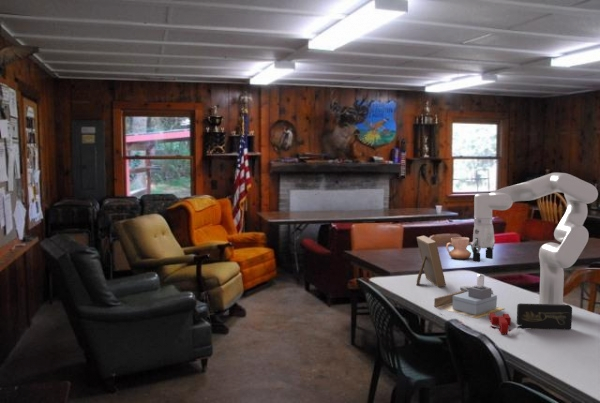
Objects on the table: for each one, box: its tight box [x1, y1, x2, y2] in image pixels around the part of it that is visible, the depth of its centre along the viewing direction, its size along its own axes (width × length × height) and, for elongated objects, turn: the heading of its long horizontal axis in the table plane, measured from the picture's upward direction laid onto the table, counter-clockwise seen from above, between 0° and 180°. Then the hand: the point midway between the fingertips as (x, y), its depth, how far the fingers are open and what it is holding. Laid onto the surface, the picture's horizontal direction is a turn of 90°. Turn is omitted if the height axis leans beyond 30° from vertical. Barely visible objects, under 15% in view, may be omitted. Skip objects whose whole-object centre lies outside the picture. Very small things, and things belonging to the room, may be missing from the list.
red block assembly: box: [488, 312, 512, 335], centre depth 213 cm, size 16×7×5 cm, turn 168°
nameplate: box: [516, 302, 573, 331], centre depth 214 cm, size 21×2×10 cm, turn 84°
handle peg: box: [476, 273, 485, 290], centre depth 233 cm, size 3×3×10 cm
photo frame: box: [416, 235, 447, 288], centre depth 292 cm, size 15×22×25 cm
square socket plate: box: [452, 285, 498, 315], centre depth 235 cm, size 12×16×10 cm
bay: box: [433, 290, 505, 321], centre depth 238 cm, size 22×22×6 cm
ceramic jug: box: [445, 236, 472, 260], centre depth 363 cm, size 18×14×14 cm
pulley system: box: [459, 285, 495, 295], centre depth 264 cm, size 27×5×15 cm
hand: (482, 260), depth 232 cm, fingers open, 9 cm apart
